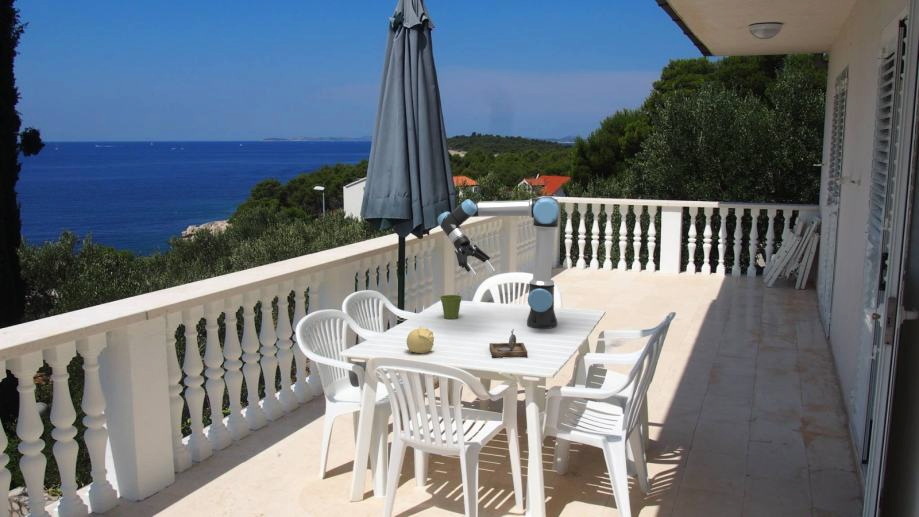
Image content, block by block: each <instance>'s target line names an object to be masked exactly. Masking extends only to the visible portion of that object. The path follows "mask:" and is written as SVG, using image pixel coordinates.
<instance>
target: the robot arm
mask: <svg viewBox="0 0 919 517" xmlns="http://www.w3.org/2000/svg"><path fill="white" fill-rule="evenodd" d="M559 214H560V204H559V202H558V201H557V199H555V198H554V197H552V196H542V197H536V198H535V197H531V198H530V199H527V200H491V201H490V200H487V201H486V200H485V201H472V200H471V199H469V198H468V199H465V200H464V201H463V202H462V203H461V204H459V205H458V206H457V207H456V208H455V209H454V210H452V211H451V212H450V211H444V212H443V213H440V214H439V215H438V217H437V223H438V225H439V227H440V228H441V229H442V231H443V232H444V233H445V235H446V237H447V238H448V239H449V240H450V242H451V243H452V244H453V247H454V248H455V249H454V253H455V255H456V259H457V260H456V261H457V263H458V266H459V267H461V269H465V271H466V272H467V273H468V274H469V275H470V277H471V279H474V278H475V276H476V275H477V273H476V272H475V270H474V269H473V267H472V266H471V265H470V263H468V257H469V256H470V257H473V258H474V257H475V258H476V259H477V260H479V261H481V262H482V263H483V266H484V267H485V268H486V269H487V271H488V272H489V273H490V274H491V275H492V274H493V273H494V272H495V271H496V270H495V268H494V267H493V266H492V264H491V262H490V259H491V257H490V256H489V255H488V254H486V253H485V251H483V250H482V249H480V248H479V247H478V246H477V244H474V245H473V246H472V244H471V241H470V239H469V237H468V236H467V234H466V233H465V232H464V231H463V229H462V228H461V227H460V226H461V225H462V224H464V223H465V222H466V221H468V220H469V219H470V218H477V217H487V218H488V217H530V218H531V219H532V218H533V219H532V220H533V221H532V222H533V223H532V226H533V227H534V228H535V240H534V254H533V255H534V257H533V273H532V279H531V280H530V281H529V285H528V287H529V288H528V296H527V304H528V306H529V307H530V310H529V313H528V317H527V320H526V326H528V328H529V327H530V328H534V329H551V328H556V327H558V318H557V316H556V312H555V281H554V280H552V269H553V267H552V266H553V252H554V243H555V242H554V237H555V230H557V228H558V227H559Z"/></svg>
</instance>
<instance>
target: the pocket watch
mask: <svg viewBox="0 0 919 517" xmlns="http://www.w3.org/2000/svg"><path fill="white" fill-rule="evenodd" d="M514 331H515V328H513V329H512V330H511V331H510V332H511V334H510V337H509V339H508V343H509V347H506V346H504V347H498V348H497V350H498V351H501V352H503V351H512V350H513V349H514V348H515V346H516V343H517V336H516V335H515V334H514ZM512 343H513V344H512Z"/></svg>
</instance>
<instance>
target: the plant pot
mask: <svg viewBox="0 0 919 517" xmlns="http://www.w3.org/2000/svg"><path fill="white" fill-rule="evenodd" d="M462 298H463V295H459V294H445V295H440V296H439V299H440V301H441V305H442V312H443V318H444V319H446V320H450V319H451V320H454V319H458V318H459V316H460V315H459V314H460V307H461V302H462Z"/></svg>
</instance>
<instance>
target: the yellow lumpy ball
mask: <svg viewBox="0 0 919 517" xmlns="http://www.w3.org/2000/svg"><path fill="white" fill-rule="evenodd" d="M434 341H435V337H434V332H433V330H430V329H428V328H424V327H422V326H421V327H419V328H415V329H413V330H411V331H410V332H409V333H408V335H407V337H406V346H407V349H408V350H409V351H410V352H411V353H415V354H417V353H418V354H427V353H428V352H430V351H432V349H433V346H434Z"/></svg>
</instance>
